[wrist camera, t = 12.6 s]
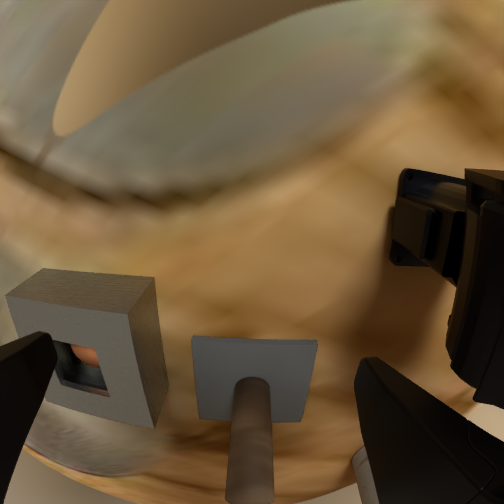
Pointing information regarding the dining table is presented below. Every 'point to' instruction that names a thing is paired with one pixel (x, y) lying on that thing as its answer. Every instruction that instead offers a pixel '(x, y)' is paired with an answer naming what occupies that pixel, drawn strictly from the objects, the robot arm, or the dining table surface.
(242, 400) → the brown cylinder rod
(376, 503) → the thermos bottle
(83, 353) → the orange rounded dome
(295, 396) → the pad
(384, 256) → the dining table surface
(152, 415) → the plate
